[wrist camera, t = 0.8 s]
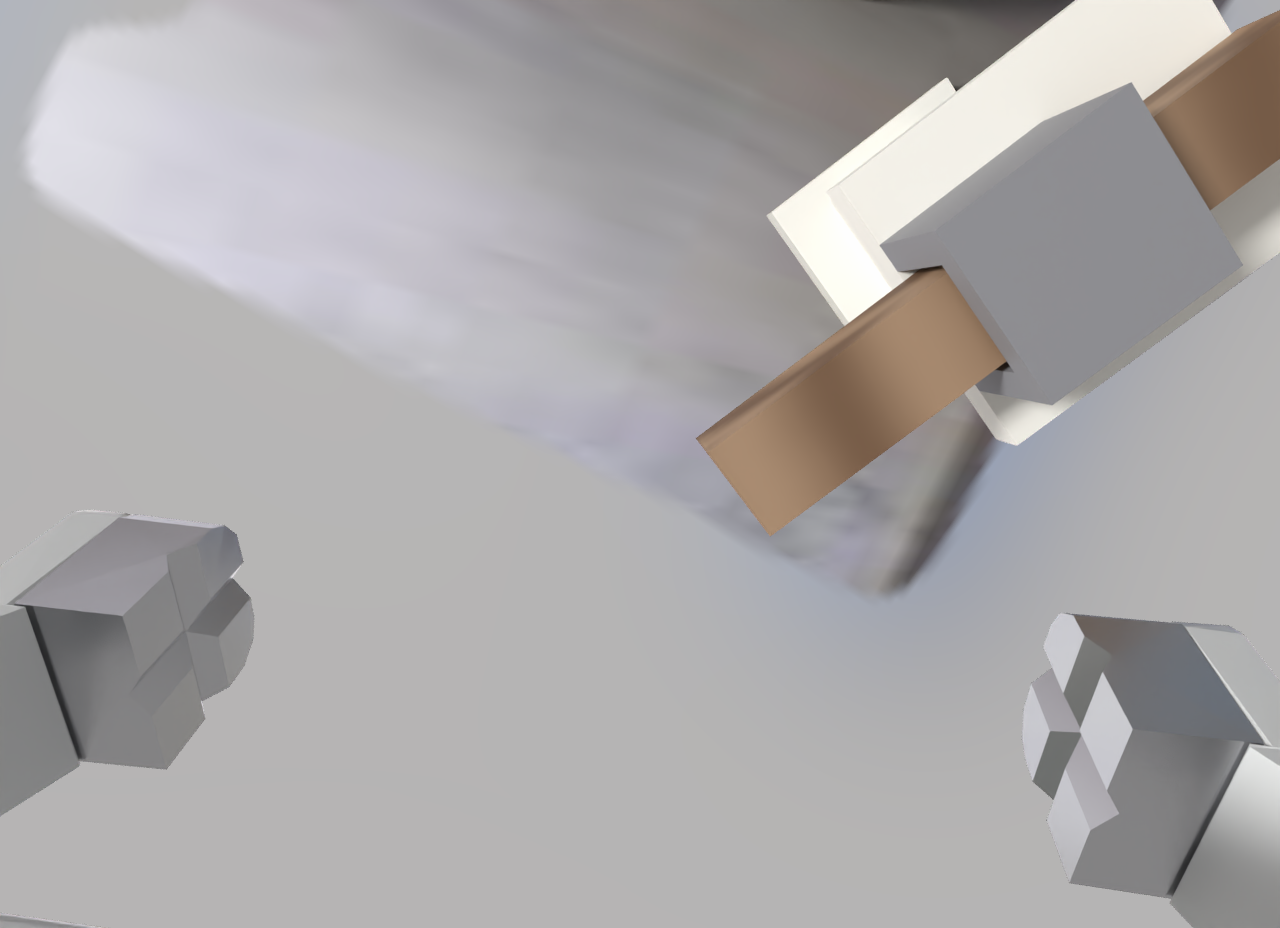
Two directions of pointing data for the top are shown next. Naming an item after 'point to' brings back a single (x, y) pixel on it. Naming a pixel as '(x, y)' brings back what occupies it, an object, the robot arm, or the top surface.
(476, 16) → the top surface
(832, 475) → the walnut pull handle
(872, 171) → the post
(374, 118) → the top surface
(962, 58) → the top surface
